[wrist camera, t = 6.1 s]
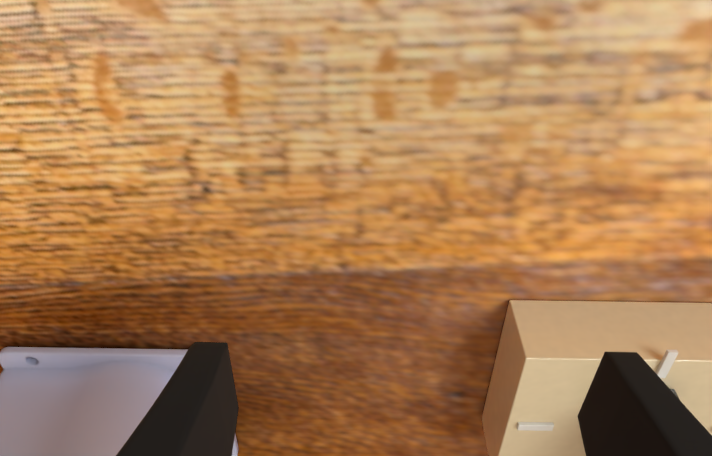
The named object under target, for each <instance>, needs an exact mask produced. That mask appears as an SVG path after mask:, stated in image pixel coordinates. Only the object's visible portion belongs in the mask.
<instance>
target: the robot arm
mask: <svg viewBox="0 0 712 456" xmlns="http://www.w3.org/2000/svg"><path fill="white" fill-rule="evenodd" d="M0 364H1V366H2V368H3V369H4V370H3V371H2V372H1V374H0V456H237V455H238V449H239V448H238V443H237V438H236V433H235V430H236V423H237V416H238V402H237V396H236V391H235V385H234V379H233V373H232V368H231V362H230V356H229V350H228V344H227V343H214V342H195V343H194V344H192V345H191V346H190V347H189V349H130V348H62V347H5V348H3V349H2V350H1V351H0ZM578 421H579V425H580V430H581V435H582V440H583V445H584V449H585V453H586V456H712V435H711V434H710V433H709V432H708V431H707V430H706V428H705V427H704V426H703V425H702V424H701V423H700V422H699V421H698V420H697V419H696V418H695V416H694V415H693V414H692V413H691V412H690V411H689V410H688V409H687V408H686V406H685V405H684V404H683V403H682V402H681V401H680V400H679V399H678V398H677V396H676V395H675V394H674V393H673V392H672V391H671V390H670V389H669V387H668V386H667V385H666V384H665V383H664V382H663V381H662V380H661V379H660V377H659V376H658V375H657V374H656V373H655V372H654V371H653V370H652V368H651V367H650V366H649V365H648V364H647V363H646V362H645V361H644V359H643V358H642V357H641V356H640V355H639V354H638V353H637V352H604V355H603V357H602V360H601V362H600V364H599V367H598V369H597V371H596V374H595V376H594V378H593V381H592V383H591V385H590V388H589V390H588V392H587V395H586V397H585V399H584V402H583V404H582V407H581V409H580V411H579V414H578Z"/></svg>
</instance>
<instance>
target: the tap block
mask: <svg viewBox="0 0 712 456" xmlns="http://www.w3.org/2000/svg"><path fill="white" fill-rule="evenodd" d="M604 352H637V353H638V354H639V355H640V356H641V357H642V358H643V359H644V361H645V362H646V363H647V364H648V365H649V366H650V367H651V368H652V370H653V371H654V372H655V373H656V374H657V375H658V376H659V377H660V379H661V380H662V381H663V382H664V383H665V384H666V385H667V386H668V387H669V389H675V391H676V393H677V395H678V397H679V399H680V401H681V402H682V403H683V404H684V405H685V406H686V408H687V409H688V410H689V411H690V412H691V413H692V414H693V415H694V416H695V418H696V419H697V420H698V421H699V422H700V423H701V424H702V425H703V426H704V427H705V428H706V430H707V431H708V432H709V433H710V434H711V435H712V303H687V302H616V301H545V300H510V301H509V304H508V309H507V313H506V317H505V321H504V325H503V330H502V334H501V338H500V342H499V347H498V351H497V355H496V359H495V364H494V368H493V372H492V376H491V381H490V385H489V389H488V393H487V398H486V402H485V406H484V410H483V415H482V424H483V429H484V435H485V440H486V446H487V451H488V456H586V453H585V449H584V445H583V440H582V435H581V430H580V425H579V421H578V414H579V411H580V409H581V407H582V404H583V402H584V399H585V397H586V395H587V392H588V390H589V388H590V385H591V383H592V381H593V378H594V376H595V374H596V371H597V369H598V367H599V364H600V362H601V360H602V357H603V355H604Z"/></svg>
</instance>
